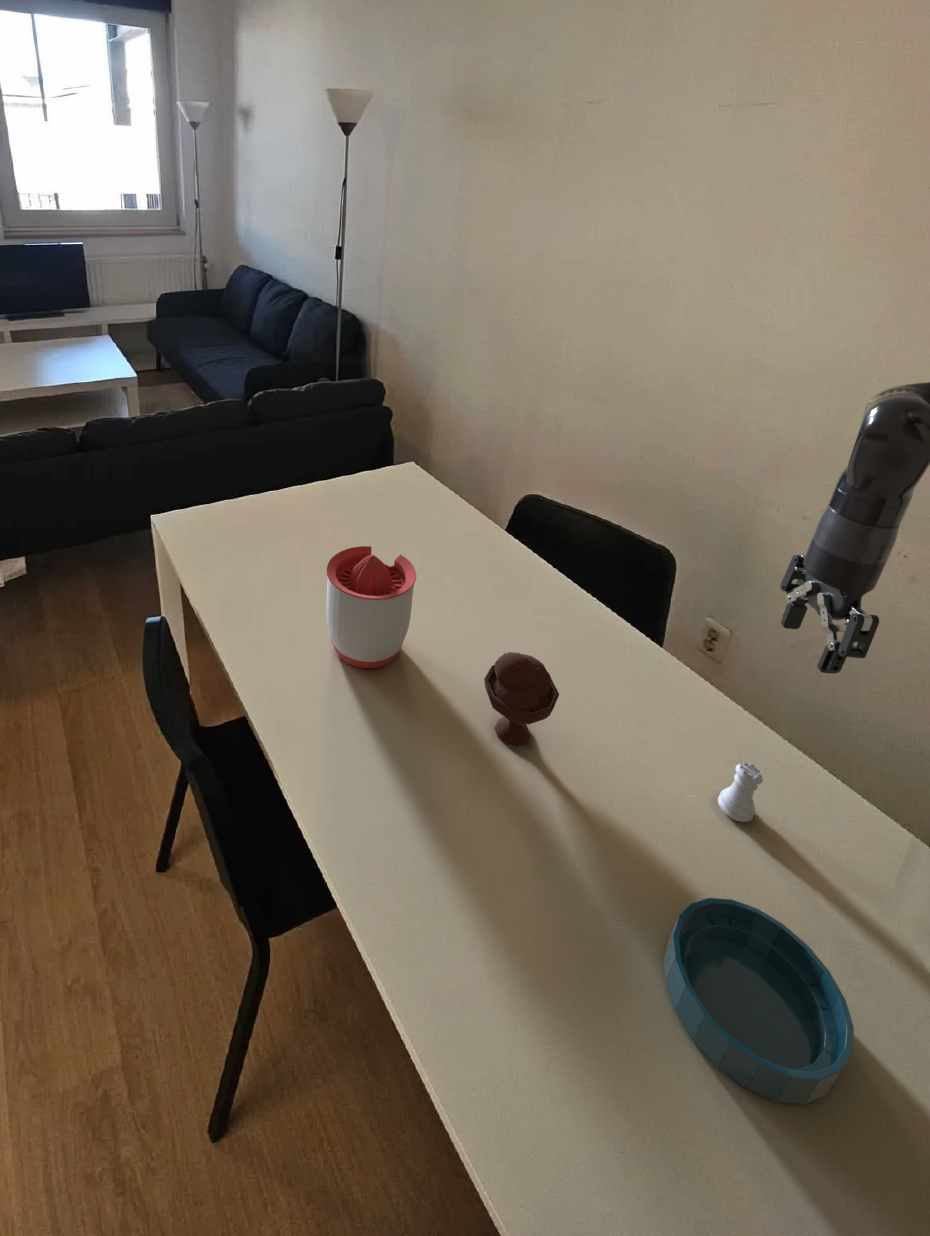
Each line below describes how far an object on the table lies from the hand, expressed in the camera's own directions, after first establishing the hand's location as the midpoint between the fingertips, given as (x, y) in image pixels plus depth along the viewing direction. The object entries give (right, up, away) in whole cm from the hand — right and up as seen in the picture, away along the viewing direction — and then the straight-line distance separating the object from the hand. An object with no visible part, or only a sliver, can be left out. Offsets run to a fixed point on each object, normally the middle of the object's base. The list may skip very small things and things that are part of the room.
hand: (807, 648), depth 87 cm
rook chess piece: (-7, -25, +5) cm, 26 cm away
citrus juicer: (-57, -10, +34) cm, 67 cm away
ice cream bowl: (-35, -19, +16) cm, 43 cm away
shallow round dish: (-19, -33, -16) cm, 42 cm away
